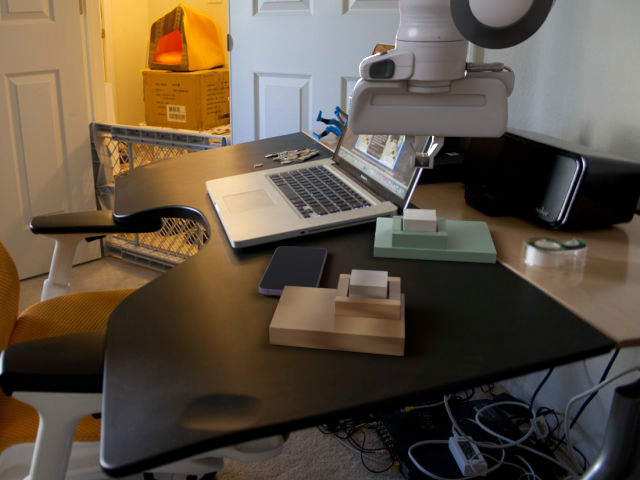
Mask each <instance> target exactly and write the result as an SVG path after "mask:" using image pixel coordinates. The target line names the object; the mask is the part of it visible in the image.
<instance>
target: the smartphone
mask: <svg viewBox="0 0 640 480" xmlns="http://www.w3.org/2000/svg"><path fill="white" fill-rule="evenodd" d="M327 257H328V250H327V249H326V248H322V247H306V246H287V245H285V246H284V245H283V246H278V247H277V248H276V249H275V251H274V253H273V255H272V256H271V259H270V261H269V263H268V265H267V267H266V269H265V272H264V273H263V276H262V277H261V280H260V281H259V284H258V293H260V294H261V295H265V296H280V297H281V295H282V292H283V289H284V287H285V286H296V287H311V288H319V287H320V283H321V280H322V275H323V272H324V268H325V264H326V261H327Z"/></svg>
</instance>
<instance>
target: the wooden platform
mask: <svg viewBox="0 0 640 480" xmlns="http://www.w3.org/2000/svg"><path fill="white" fill-rule="evenodd" d="M350 279H351V274H349V273H340V274H339V277H338V282H337V288H325V287H318V288H311V287H296V286H285V287H284V289H283V292H282V295H281V296H280V298H279V300H278V303H277V305H276V308H275V310H274V313H273V316H272V319H271V322H270V324H269V327H268V328H269V329H268V331H269V345H271V346H272V345H273V346H285V347H294V348H295V347H296V348H307V349H319V350H329V351H340V352H341V351H342V352H351V353H352V352H353V353H363V354H374V355H375V354H377V355H387V356H399V357H404V356H405V341H406V311H405V309H406V307H405V306H406V305H405V302H406V301H405V300H406V299H405V298H406V297H405V296H406V295H405V293H403V292H402V293H401V277H399V276H388V280H387V299H374V298H359V297H349V285H350Z"/></svg>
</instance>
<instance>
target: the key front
mask: <svg viewBox="0 0 640 480" xmlns="http://www.w3.org/2000/svg"><path fill="white" fill-rule="evenodd" d="M388 277H389V272H388V271H387V270H386V271H385V270H370V269H369V270H367V269H351V279H350V285H349V297H359V298H374V299H387V280H388Z"/></svg>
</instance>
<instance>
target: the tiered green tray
mask: <svg viewBox="0 0 640 480" xmlns="http://www.w3.org/2000/svg"><path fill="white" fill-rule="evenodd" d="M436 217H437V228H436V232H415V231H403V215H392V217H376V225H375V234H374V235H375V236H374V244H373V257H374V258H389V259H391V258H392V259H405V260H407V259H410V260H426V261H428V260H429V261H443V262H444V261H446V262H461V263H462V262H464V263H481V264H482V263H483V264H497V256H498V253H497V249H496V246H495V244H494V241H493V240H494V239H493V238H492V235H491V231H490V229H489V226H488V223H487V221H479V220H478V221H476V220H474V221H473V220H453V219H451V220H449V219H446V218H445V216H444V217H443V216H441V217H440V216H436Z"/></svg>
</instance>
